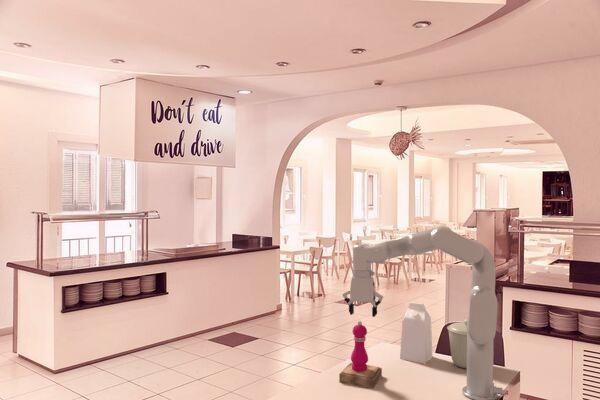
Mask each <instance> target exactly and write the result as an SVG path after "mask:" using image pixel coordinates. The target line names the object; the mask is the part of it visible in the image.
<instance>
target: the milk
mask: <svg viewBox="0 0 600 400" xmlns="http://www.w3.org/2000/svg"><path fill="white" fill-rule="evenodd" d="M426 309H427V308H426V307H425V304H424V303H421V302H413V301H411V302H410V303H409V305H408V308H407V309H406V312H405V314H404V316H403V318H402V322H401V324H402V325H401V336H400V337H401V339H400V351H399V352H400V353H399V359H401V360H405V361H410V362H414V363H418V364H419V363H420V364H423V365H424V364H425V365H426V364H427V362H429V361H430V360H431V359H432V358H433V336H432V335H433V334H432V333H433V332H432V317H431V316H430V314H429V312H428V311H427V310H426Z"/></svg>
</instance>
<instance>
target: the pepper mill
mask: <svg viewBox="0 0 600 400" xmlns="http://www.w3.org/2000/svg"><path fill="white" fill-rule="evenodd" d="M367 333H368V329H367V327H366V326H365V325H363V323H362V321H360V320H359V321H358V322H357V324H356V325H354V326H353V328H352V334H353V340H354V347H353V351H352V352H351V355H350V362H351V363H353V364H352V369H353V370H354V371H358V372H363V371H366V370H367V365H368V364H367V363H368V362H369V356H368V353H367V350H366V348H365V341H366V340H367V338H366V336H367Z"/></svg>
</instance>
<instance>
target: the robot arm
mask: <svg viewBox="0 0 600 400" xmlns="http://www.w3.org/2000/svg"><path fill="white" fill-rule="evenodd" d="M437 250H440V251H442V252H443V253H445V254H447V255H448V256H451V257H453V258H456V259H457V260H459V261H461V262H463V263H466V264H468V265H471V285H470V293H469V311H468V312H469V313H468V318H467V319H468V320H467V369H466V385H465V386H464V387H462V388H461V389H462V390H461V391H462V394H463V395H464V396H465V397H467V398H468V399H471V400H497V399H498V395H500V396H501V395H502V396H506V394H507V393H506V392H507V391H506V389H503V387H497V386H496V385H495V382H494V339H495V337H496V334H497V333H496V332H497V323H498V308H499V307H498V298H497V296H496V295H497V294H496V263H495V260H494V256H493V254H492V253H491V251H490V250H489V249H488V247H487V246H485V245H484V244H483V243H482V242H480V241H478V240H476V239H472V238H467V237H465V236H463V235H461V234H460V233H459V234H458V233H457V232H455V231H453V230H452V229H451V228H450V227H449V226H445V225H443V226H437V227H433V228H429V229H425V230H422V231H417V232H415V233H411V234H408V235H404V236H402V237H399V238H394V239H391V240H387V241H383V242H379V243H377V244H375V245H369V244H363V243H359V244H354V245H353V247H352V270H353V271H352V274H353V276H352V277H351V280H350V289H349V290H348V291H346V292H344V293H342V297H343V298H344V301H345V302H346V304H347V305H348V313H349V315H350V316H352V315H353V314H354V313H355V310H354V309H355V307H354V305H355V304H354V302H358V303H359V302H360V303H361V302H362V303H371V305H372V307H371V313H372V317H373V318H376V316H377V314H378V306H379V305H380V304H382V301H383V299H384V296H383V294H380V293H378V292H376V285H375V278H374V276H375V275H376V273H375V271H373V269H372V263H376V264H383V263H385V262H386V261H388V260H390V259H394V258H398V257H402V256H417V255H421V254H425V253H429V252H433V251H437ZM348 295H349V297H348ZM376 298H378V300H377V299H376ZM376 300H377V301H376Z"/></svg>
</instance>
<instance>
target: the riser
mask: <svg viewBox="0 0 600 400" xmlns="http://www.w3.org/2000/svg"><path fill="white" fill-rule="evenodd" d="M352 364H353V362H349V364H348V365H346V367H345V368H344V369H343V370H341V372H340V373H339V379H338V380H339V383H343V384H348V385H352V386H358V387H363V388H368V387H369V388H370V389H374V387H375V386H376V384H377V383H378V382H379V381H380V379H381V378H382V377H383V372H382V371H383V368H382V367H380V366H375V365H370V364H366V365H367V370H366V371H363V372H358V371H354V370H353V369H352Z"/></svg>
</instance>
